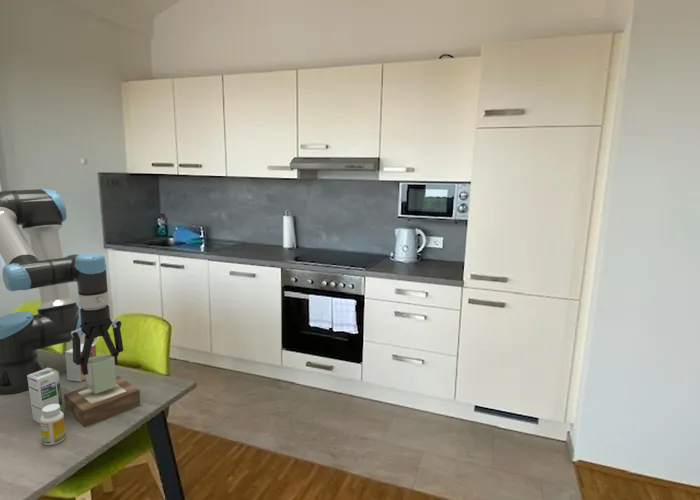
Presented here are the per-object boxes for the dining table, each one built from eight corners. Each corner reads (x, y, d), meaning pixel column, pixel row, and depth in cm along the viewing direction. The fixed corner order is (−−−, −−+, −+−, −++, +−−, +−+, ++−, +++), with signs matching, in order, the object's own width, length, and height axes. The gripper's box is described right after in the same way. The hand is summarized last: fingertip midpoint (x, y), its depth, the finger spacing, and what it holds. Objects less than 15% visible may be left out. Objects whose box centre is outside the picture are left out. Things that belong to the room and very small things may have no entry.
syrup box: (43, 426, 129) (38, 379, 127) (32, 420, 132) (26, 373, 129) (64, 416, 134) (59, 371, 132) (53, 411, 137) (47, 366, 134)
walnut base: (65, 409, 138) (64, 393, 137) (119, 389, 150) (118, 375, 149) (84, 427, 130) (83, 410, 129) (140, 404, 142) (139, 389, 141)
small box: (81, 382, 155) (78, 353, 153) (67, 380, 156) (64, 351, 154) (98, 372, 162) (96, 344, 160) (84, 370, 164) (82, 342, 162)
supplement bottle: (40, 447, 120) (36, 414, 118) (45, 436, 125) (41, 404, 123) (64, 443, 122) (60, 410, 120) (67, 432, 127) (64, 400, 125)
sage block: (87, 387, 138) (84, 359, 136) (107, 380, 143) (105, 353, 141) (95, 393, 134) (92, 365, 133) (116, 386, 139) (114, 358, 137)
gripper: (63, 317, 124) (71, 395, 129) (133, 301, 139) (138, 372, 143) (53, 311, 129) (61, 386, 133) (121, 296, 143) (127, 365, 148)
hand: (101, 379), depth 138 cm, fingers closed on sage block, 6 cm apart
